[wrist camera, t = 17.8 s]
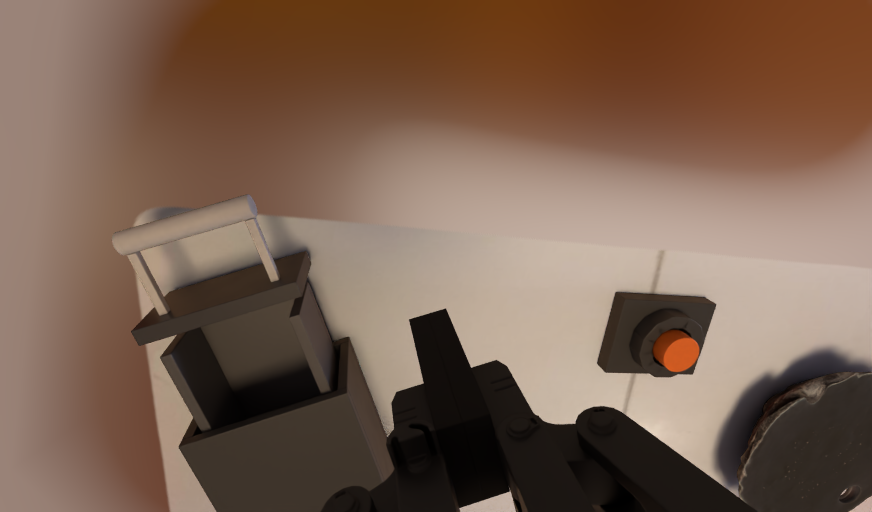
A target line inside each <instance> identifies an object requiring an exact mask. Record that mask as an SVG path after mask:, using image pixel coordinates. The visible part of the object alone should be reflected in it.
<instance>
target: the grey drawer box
mask: <svg viewBox="0 0 872 512" xmlns="http://www.w3.org/2000/svg"><path fill="white" fill-rule="evenodd" d="M332 343H333V346H334V348H335V351H336V353H337V356H338V358H339V374H338V389H337V391H334V392H331V393H328V394H325V395H321V396H318V397H315V398H312V399H309V400H306V401H303V402H299V403H296V404H293V405H290V406H287V407H284V408H281V409H278V410H274V411H271V412H268V413H265V414H262V415H259V416H256V417H252V418H249V419H246V420H243V421H240V422H237V423H234V424H231V425H227V426H224V427H221V428H218V429H215V430H212V431H209V432H205V433H202V432H201V430H200V428H199V427H198V425H197V423H196V421H195V419H194V418H193V419H192V421H191V423H190V425H189V427H188V429H187V431H186V433H185V435H184V437H183V439H182V441H181V443H180V445H179V449H180V451H181V452H182V454H183V456H184V457H185V459H186V461H187V462H188V464H189V466H190V468H191V469H192V471H193V473H194V474H195V476H196V478H197V479H198V481H199V483H200V484H201V486H202V488H203V489H204V491H205V493H206V495H207V496H208V498H209V500H210V501H211V503H212V505H213V506H214V508H215V510H216V511H217V512H321V510H322V508H323V506H324V505H325V503H326V501H327V500H328V499H329V498H330V497H331V496H332V495H333V494H335V493H336V492H338V491H340V490H341V489H343V488H346V487H350V486H362V487H363V488H365V489H367V490H368V491H370V490H372V489H373V488H375V487H377V486H378V485H380V484H381V483H382V482H384V481H385V480H386V479H387V478H388V477H389V476H390V475H391V474H392V472H393V470H394V466H393V464H392V461H391V458H390V455H389V452H388V450H387V447H386V443H387V436H386V433H385V431H384V428H383V425H382V423H381V420H380V418H379V415H378V412H377V410H376V407H375V404H374V402H373V399H372V396H371V394H370V391H369V388H368V386H367V383H366V381H365V378H364V375H363V373H362V370H361V367H360V365H359V362H358V359H357V357H356V354H355V352H354V349H353V346H352V344H351V341H350V338H349V337H347V338H344V339H341V340H338V341H335V342H332Z"/></svg>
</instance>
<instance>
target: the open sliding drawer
mask: <svg viewBox="0 0 872 512" xmlns="http://www.w3.org/2000/svg"><path fill="white" fill-rule="evenodd" d="M256 217H257V208H256V205H255V202H254V200H253V199H252V197H251V196H250V195H243V196H240V197H237V198H233V199H230V200H226V201H223V202H219V203H216V204H213V205H209V206H205V207H202V208H198V209H195V210H191V211H188V212H184V213H181V214H178V215H174V216H171V217H167V218H164V219H160V220H157V221H153V222H150V223H146V224H143V225H139V226H136V227H132V228H129V229H126V230H122V231H119V232H115V233H114V234H113V236H112V243H113V246H114V248H115V249H116V251H117V252H119V253H120V254H121V255H127V257H128V258H129V260H130V262H131V264H132V266H133V268H134V270H135V271H136V273H137V275H138V277H139V279H140V281H141V282H142V284H143V286H144V288H145V290H146V292H147V294H148V295H149V297H150V299H151V301H152V303H153V305H154V308H153V309H152V310H151V311H150V312H149V313H148V314H147V315H146V316H145V317H144V319H143V320H142V321H141V322H140V323H139V324H138V325H137V326H136V327H135V328H134V329H133V330H132V331H131V333H132V334H133V336H134V338H135V339H136V341H137V343H138V345H139V346H141V345H144V344H147V343H151V342H154V341H157V340H161V339H164V338H167V337H170V336H174V335H177V336H176V337H175V338H174V340H173V341H172V342H171V344H170V345H169V346H168V347H167V349H166V350H165V351H164V353H163V354H162V355H161V357H160V359H161V361H162V362H163V364H164V366H165V368H166V369H167V371H168V373H169V375H170V377H171V378H172V380H173V382H174V384H175V386H176V387H177V389H178V391H179V393H180V394H181V396H182V398H183V400H184V402H185V403H186V405H187V407H188V409H189V410H190V412H191V414H192V416H193V418H194V419H195V421H196V423H197V425H198V427H199V428H200V430H201V432H202V433H205V432H209V431H212V430H215V429H218V428H221V427H224V426H227V425H231V424H234V423H237V422H240V421H243V420H246V419H249V418H252V417H256V416H259V415H262V414H265V413H268V412H271V411H274V410H278V409H281V408H284V407H287V406H290V405H293V404H296V403H299V402H303V401H306V400H309V399H312V398H315V397H318V396H321V395H325V394H328V393H331V392H334V391H337V389H338V374H339V358H338V356H337V353H336V351H335V348H334V346H333V343H332V340H331V338H330V335H329V333H328V330H327V328H326V325H325V323H324V320H323V318H322V315H321V313H320V310H319V308H318V305H317V303H316V300H315V298H314V295H313V292H312V290H311V287H310V285H309V283H308V282H306V280H307V277H308V273H309V269H310V266H311V262H310V259H309V257H308V254H307V252H306V251H304V252H301V253H298V254H294V255H291V256H288V257H284V258H281V259H278V260H273V258H272V256H271V253H270V251H269V248H268V246H267V244H266V241H265V239H264V236H263V234H262V232H261V229H260V227H259V224H258V222H257V220H256ZM244 220H246V221H245V222H246V224H247V227H248V229H249V231H250V234H251V236H252V238H253V241H254V243H255V245H256V248H257V250H258V252H259V255H260V257H261V259H262V262H263V264H261V265H257V266H254V267H251V268H247V269H244V270H241V271H237V272H234V273H231V274H227V275H224V276H221V277H217V278H214V279H211V280H207V281H204V282H200V283H197V284H194V285H190V286H187V287H184V288H180V289H177V290H174V291H170V292H169V293H168V294H167V295H166V296H165V297H164V296H163V295H162V293H161V291H160V289H159V287H158V285H157V283H156V281H155V279H154V278H153V276H152V274H151V272H150V270H149V268H148V266H147V264H146V262H145V260H144V259H143V257H142V255H141V253H140V251H142V250H145V249H148V248H152V247H155V246H159V245H162V244H166V243H169V242H172V241H176V240H179V239H183V238H186V237H190V236H193V235H196V234H200V233H203V232H207V231H210V230H214V229H217V228H220V227H224V226H227V225H231V224H234V223H238V222H241V221H244ZM128 254H129V255H128Z"/></svg>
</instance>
